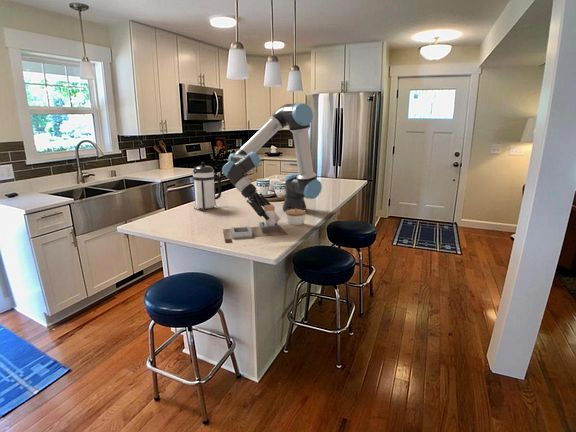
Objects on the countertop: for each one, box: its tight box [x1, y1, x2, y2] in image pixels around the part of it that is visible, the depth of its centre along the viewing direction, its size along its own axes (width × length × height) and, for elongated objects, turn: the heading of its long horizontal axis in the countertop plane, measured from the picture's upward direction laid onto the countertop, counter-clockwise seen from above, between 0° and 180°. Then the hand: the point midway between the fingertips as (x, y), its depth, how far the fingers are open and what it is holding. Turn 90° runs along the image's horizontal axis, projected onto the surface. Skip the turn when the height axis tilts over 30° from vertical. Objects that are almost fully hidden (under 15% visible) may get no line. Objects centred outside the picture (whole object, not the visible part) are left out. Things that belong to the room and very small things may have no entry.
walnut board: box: [222, 224, 288, 243], centre depth 166 cm, size 30×16×2 cm, turn 104°
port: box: [229, 225, 253, 240], centre depth 161 cm, size 10×10×2 cm
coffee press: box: [192, 161, 222, 212], centre depth 214 cm, size 17×16×30 cm
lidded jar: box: [285, 208, 306, 226], centre depth 181 cm, size 11×11×9 cm
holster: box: [258, 221, 280, 232], centre depth 171 cm, size 9×9×2 cm
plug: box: [263, 204, 276, 227], centre depth 169 cm, size 4×4×12 cm
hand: (275, 222), depth 169 cm, fingers closed on plug, 6 cm apart
